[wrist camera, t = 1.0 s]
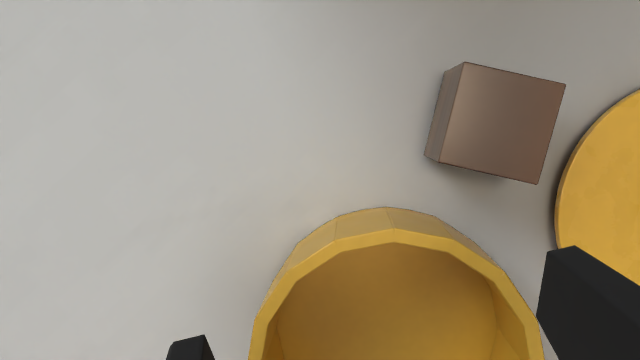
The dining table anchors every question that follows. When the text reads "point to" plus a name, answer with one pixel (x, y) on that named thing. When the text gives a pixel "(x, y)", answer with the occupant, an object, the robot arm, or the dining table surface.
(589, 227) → the tin lid
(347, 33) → the dining table surface
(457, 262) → the tin
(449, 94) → the walnut block
